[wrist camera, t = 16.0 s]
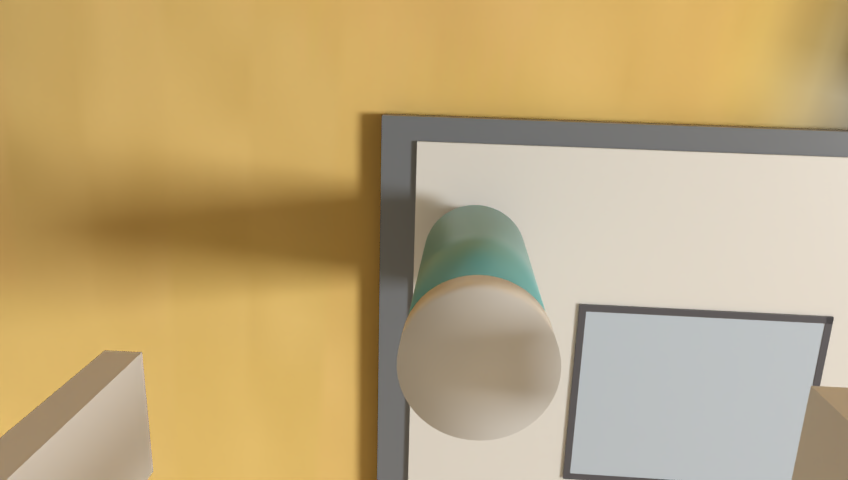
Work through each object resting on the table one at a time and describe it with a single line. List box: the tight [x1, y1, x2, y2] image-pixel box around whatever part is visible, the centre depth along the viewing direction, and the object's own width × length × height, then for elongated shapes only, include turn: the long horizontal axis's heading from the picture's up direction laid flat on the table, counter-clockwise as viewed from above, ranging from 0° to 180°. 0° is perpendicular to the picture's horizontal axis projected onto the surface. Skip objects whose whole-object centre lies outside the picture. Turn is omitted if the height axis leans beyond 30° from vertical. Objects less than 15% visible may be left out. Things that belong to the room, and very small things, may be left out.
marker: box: [397, 205, 561, 441], centre depth 22 cm, size 4×4×12 cm
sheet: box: [377, 114, 848, 480], centre depth 29 cm, size 28×20×1 cm
